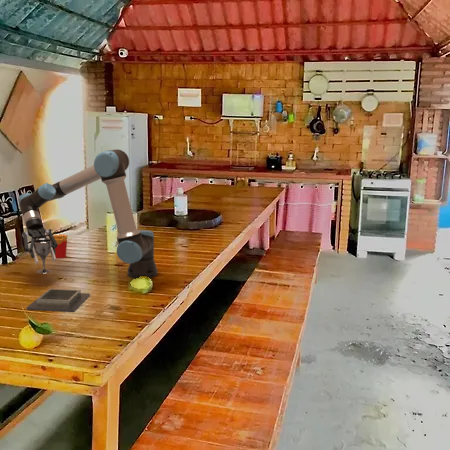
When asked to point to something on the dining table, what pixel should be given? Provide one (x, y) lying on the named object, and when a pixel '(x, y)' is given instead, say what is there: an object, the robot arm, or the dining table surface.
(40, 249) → the wine glass
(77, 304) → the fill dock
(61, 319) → the dining table surface
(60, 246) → the french fries
